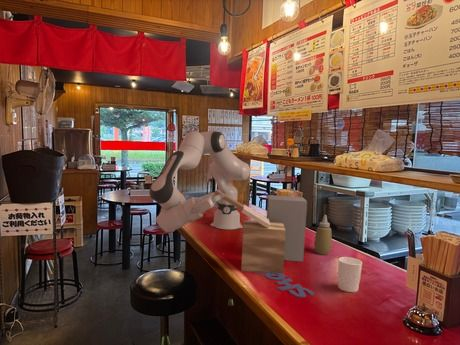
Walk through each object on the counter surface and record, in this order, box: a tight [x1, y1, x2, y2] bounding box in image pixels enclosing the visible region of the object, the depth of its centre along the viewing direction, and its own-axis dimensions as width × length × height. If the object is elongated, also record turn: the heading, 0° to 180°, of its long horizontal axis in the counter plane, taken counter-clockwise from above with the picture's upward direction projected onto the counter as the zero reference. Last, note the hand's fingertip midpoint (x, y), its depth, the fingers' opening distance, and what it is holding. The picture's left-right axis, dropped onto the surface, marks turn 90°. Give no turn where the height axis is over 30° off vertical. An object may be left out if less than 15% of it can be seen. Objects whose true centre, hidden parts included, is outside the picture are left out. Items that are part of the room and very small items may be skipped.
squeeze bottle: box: [313, 214, 333, 256], centre depth 157 cm, size 8×8×18 cm
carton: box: [266, 194, 308, 262], centre depth 150 cm, size 12×16×26 cm
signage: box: [252, 271, 316, 299], centre depth 122 cm, size 28×1×10 cm
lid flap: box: [213, 188, 270, 228], centre depth 134 cm, size 10×25×2 cm, turn 87°
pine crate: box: [240, 220, 286, 274], centre depth 135 cm, size 12×16×17 cm
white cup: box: [337, 256, 363, 293], centre depth 118 cm, size 8×8×10 cm
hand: (224, 193), depth 134 cm, fingers closed on lid flap, 4 cm apart
